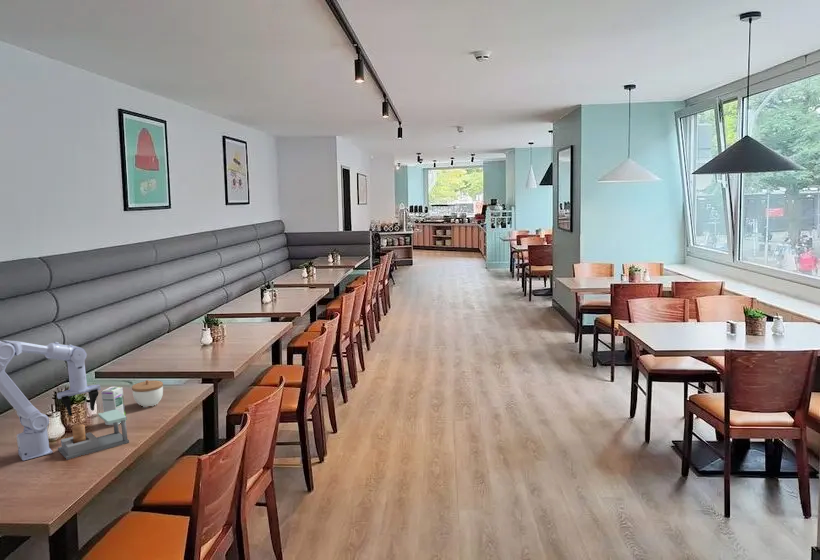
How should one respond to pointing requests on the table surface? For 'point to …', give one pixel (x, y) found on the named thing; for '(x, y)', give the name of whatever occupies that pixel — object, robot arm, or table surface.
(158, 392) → the lidded bowl
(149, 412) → the table surface
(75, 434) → the peg
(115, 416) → the socket stand
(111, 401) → the syrup box
